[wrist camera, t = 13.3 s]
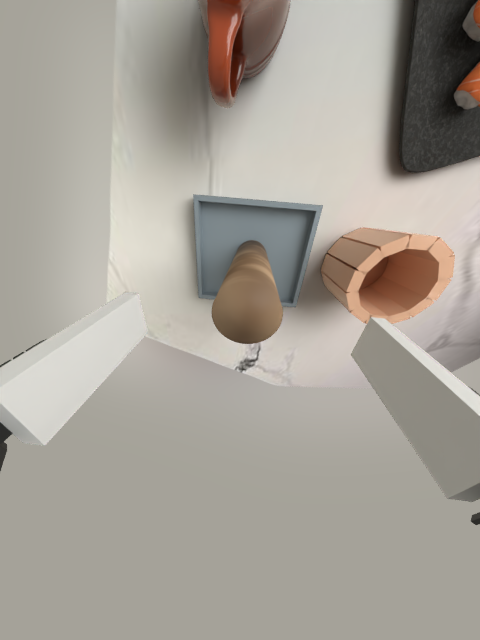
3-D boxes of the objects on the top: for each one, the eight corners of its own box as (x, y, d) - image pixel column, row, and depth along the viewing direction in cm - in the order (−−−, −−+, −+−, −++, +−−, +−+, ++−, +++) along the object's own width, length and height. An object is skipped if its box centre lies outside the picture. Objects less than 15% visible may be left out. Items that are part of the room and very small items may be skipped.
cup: (408, 231, 24) (479, 240, 17) (374, 298, 29) (416, 328, 22) (334, 225, 24) (371, 230, 17) (313, 292, 30) (334, 320, 22)
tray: (317, 206, 23) (322, 205, 22) (293, 301, 31) (295, 307, 29) (198, 195, 24) (193, 194, 22) (202, 292, 31) (198, 297, 29)
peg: (268, 241, 25) (289, 285, 10) (264, 272, 28) (275, 347, 12) (237, 238, 26) (211, 278, 10) (235, 269, 28) (211, 340, 12)
